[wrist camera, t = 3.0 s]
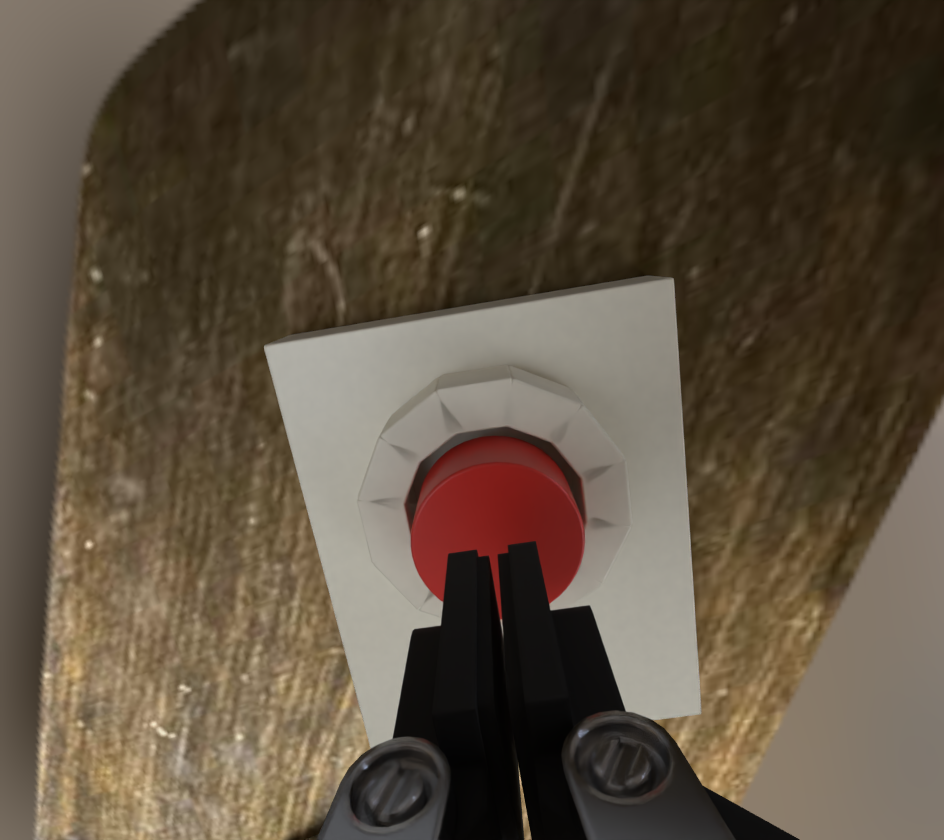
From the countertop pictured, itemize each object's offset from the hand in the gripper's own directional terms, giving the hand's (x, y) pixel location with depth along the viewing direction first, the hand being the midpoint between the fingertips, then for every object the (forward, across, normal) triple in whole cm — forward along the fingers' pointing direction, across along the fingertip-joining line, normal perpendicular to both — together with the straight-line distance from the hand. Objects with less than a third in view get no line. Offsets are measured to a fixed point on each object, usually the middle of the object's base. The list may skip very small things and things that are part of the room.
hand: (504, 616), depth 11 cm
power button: (+4, 0, 0) cm, 4 cm away
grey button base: (+8, 0, +2) cm, 8 cm away
